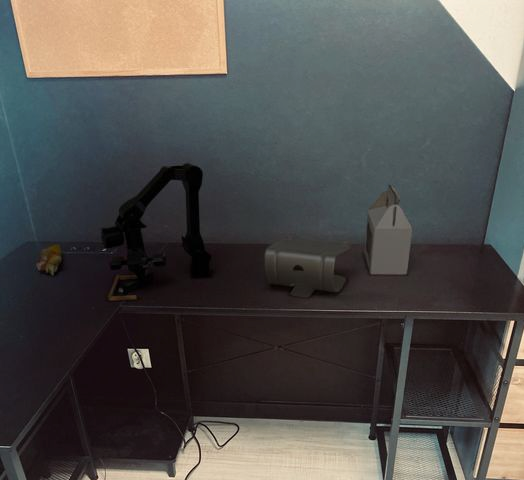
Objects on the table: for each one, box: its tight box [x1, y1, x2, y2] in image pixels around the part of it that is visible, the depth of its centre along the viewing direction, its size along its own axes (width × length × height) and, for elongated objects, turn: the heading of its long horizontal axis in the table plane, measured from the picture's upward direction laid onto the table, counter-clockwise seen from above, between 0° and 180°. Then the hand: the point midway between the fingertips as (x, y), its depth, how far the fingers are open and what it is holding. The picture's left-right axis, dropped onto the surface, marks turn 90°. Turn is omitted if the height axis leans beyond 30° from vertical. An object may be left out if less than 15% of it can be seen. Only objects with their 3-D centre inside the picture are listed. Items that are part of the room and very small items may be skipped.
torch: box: [35, 243, 63, 276], centre depth 208 cm, size 8×8×25 cm
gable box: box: [363, 184, 413, 276], centre depth 196 cm, size 22×13×28 cm, turn 176°
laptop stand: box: [264, 234, 352, 298], centre depth 184 cm, size 26×24×16 cm
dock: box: [107, 274, 138, 301], centre depth 188 cm, size 10×19×2 cm, turn 4°
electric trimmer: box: [117, 272, 155, 296], centre depth 189 cm, size 4×16×3 cm, turn 143°
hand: (142, 284), depth 189 cm, fingers closed
